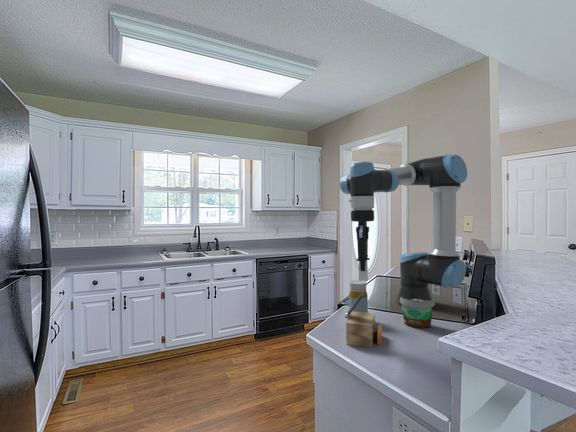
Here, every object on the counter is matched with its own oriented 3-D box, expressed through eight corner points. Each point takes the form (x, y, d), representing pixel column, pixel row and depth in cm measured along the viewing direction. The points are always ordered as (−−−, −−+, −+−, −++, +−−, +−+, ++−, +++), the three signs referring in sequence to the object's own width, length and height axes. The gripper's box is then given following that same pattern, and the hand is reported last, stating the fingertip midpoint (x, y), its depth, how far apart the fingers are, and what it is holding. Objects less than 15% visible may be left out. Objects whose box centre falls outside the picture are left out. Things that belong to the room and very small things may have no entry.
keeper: (365, 293, 108) (362, 291, 108) (363, 296, 103) (360, 294, 104) (349, 314, 110) (346, 312, 110) (347, 319, 105) (344, 316, 106)
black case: (382, 336, 108) (381, 325, 108) (381, 345, 101) (381, 333, 101) (348, 333, 111) (348, 322, 111) (346, 341, 104) (345, 329, 104)
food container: (399, 327, 115) (399, 300, 115) (399, 321, 121) (399, 295, 121) (436, 331, 111) (436, 303, 111) (435, 325, 117) (434, 298, 117)
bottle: (368, 324, 119) (367, 284, 119) (349, 323, 121) (348, 284, 120) (367, 317, 126) (366, 280, 126) (349, 317, 127) (348, 280, 127)
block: (374, 333, 111) (374, 313, 111) (372, 347, 99) (371, 325, 99) (351, 330, 113) (351, 311, 113) (346, 344, 102) (346, 322, 102)
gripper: (353, 209, 112) (354, 275, 113) (348, 209, 100) (349, 284, 101) (375, 209, 110) (376, 276, 111) (372, 209, 98) (373, 285, 98)
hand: (363, 280), depth 106 cm, fingers closed
